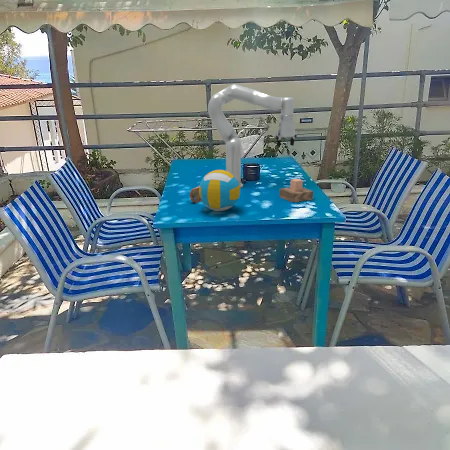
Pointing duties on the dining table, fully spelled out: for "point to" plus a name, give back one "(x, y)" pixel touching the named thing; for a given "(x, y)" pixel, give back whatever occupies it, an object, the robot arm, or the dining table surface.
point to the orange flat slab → (195, 195)
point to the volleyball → (219, 190)
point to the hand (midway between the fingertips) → (285, 145)
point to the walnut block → (296, 194)
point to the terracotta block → (296, 185)
